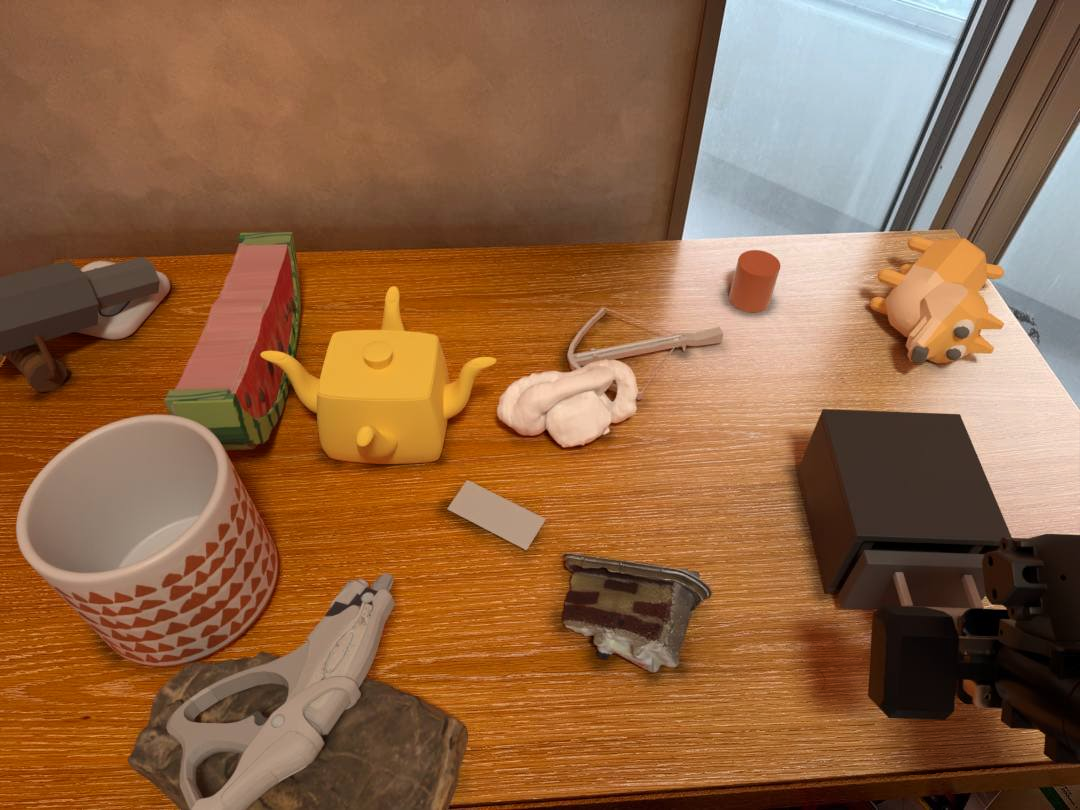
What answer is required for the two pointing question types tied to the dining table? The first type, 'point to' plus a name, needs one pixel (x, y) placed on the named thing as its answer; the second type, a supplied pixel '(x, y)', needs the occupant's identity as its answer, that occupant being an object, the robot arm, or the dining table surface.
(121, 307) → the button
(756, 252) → the orange cylinder
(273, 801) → the stone
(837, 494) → the dark brown hollow box
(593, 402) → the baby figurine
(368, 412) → the teapot
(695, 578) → the chocolate cake
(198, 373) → the fruit slice
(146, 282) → the mechanical component
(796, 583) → the dining table surface
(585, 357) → the crossbow
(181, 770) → the gun
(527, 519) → the grey rectangular card
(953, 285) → the dog
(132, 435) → the vase
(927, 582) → the drawer
